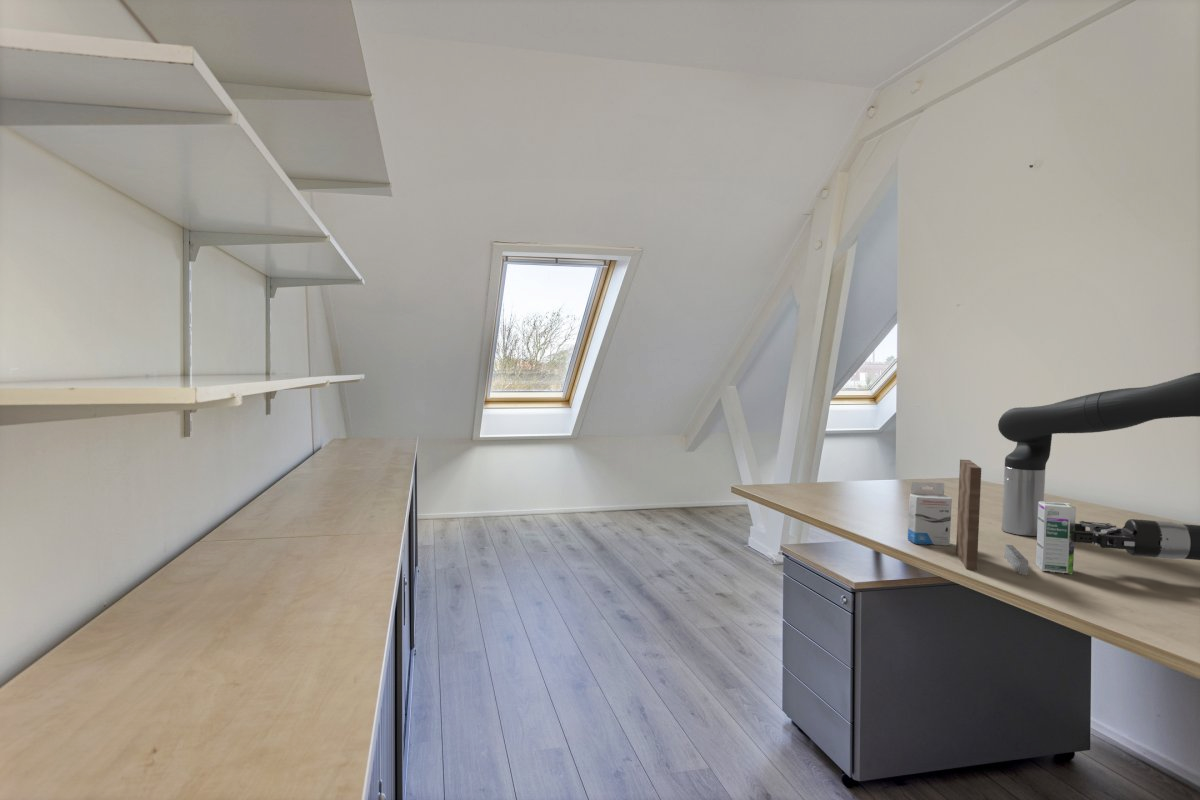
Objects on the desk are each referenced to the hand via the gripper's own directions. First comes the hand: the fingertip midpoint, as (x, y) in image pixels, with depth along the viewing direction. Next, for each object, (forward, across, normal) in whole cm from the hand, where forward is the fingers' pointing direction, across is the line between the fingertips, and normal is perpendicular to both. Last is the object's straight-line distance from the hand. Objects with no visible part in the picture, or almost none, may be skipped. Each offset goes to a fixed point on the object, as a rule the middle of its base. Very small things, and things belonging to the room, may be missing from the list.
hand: (1065, 531), depth 149 cm
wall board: (+14, 0, +8) cm, 16 cm away
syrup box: (+2, 0, +9) cm, 9 cm away
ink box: (+25, -15, +9) cm, 30 cm away
